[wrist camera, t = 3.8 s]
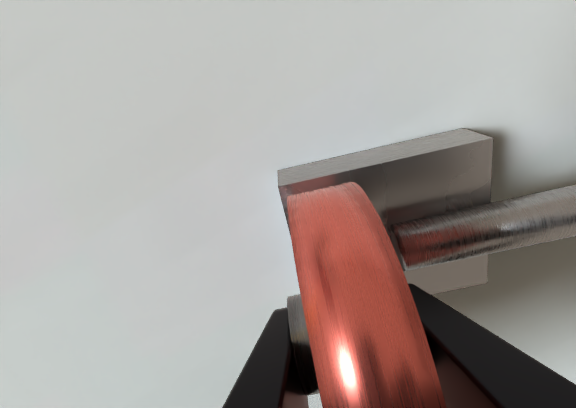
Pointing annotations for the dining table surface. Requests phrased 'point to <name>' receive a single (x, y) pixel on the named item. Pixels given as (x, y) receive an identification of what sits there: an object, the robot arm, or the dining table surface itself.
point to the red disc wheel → (396, 258)
